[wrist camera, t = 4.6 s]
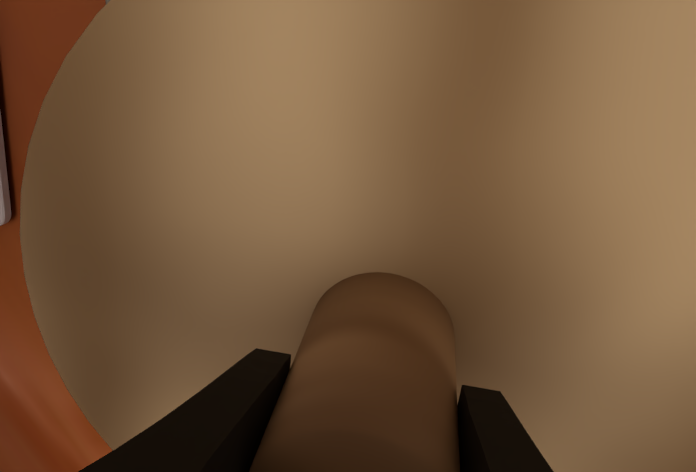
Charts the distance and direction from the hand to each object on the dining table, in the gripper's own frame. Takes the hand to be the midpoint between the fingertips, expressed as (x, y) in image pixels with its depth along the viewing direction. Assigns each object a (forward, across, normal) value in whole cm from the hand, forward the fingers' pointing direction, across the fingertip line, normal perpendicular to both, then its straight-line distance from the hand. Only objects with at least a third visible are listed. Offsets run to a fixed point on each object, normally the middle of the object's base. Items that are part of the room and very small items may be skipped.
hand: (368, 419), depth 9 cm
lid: (+2, 0, -1) cm, 2 cm away
